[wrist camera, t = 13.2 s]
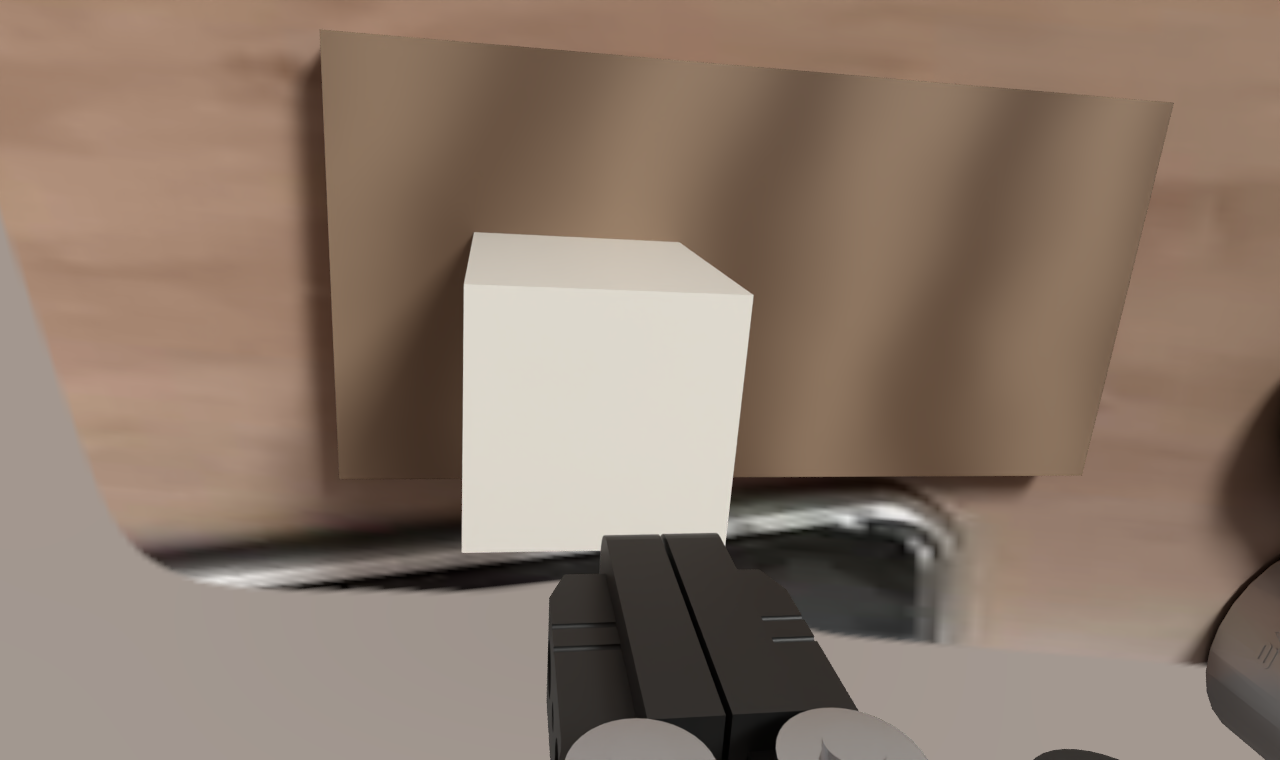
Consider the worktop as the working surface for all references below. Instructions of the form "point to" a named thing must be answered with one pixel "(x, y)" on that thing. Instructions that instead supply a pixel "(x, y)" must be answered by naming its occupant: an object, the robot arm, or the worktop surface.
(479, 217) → the board
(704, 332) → the white rectangular block
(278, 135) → the worktop surface
